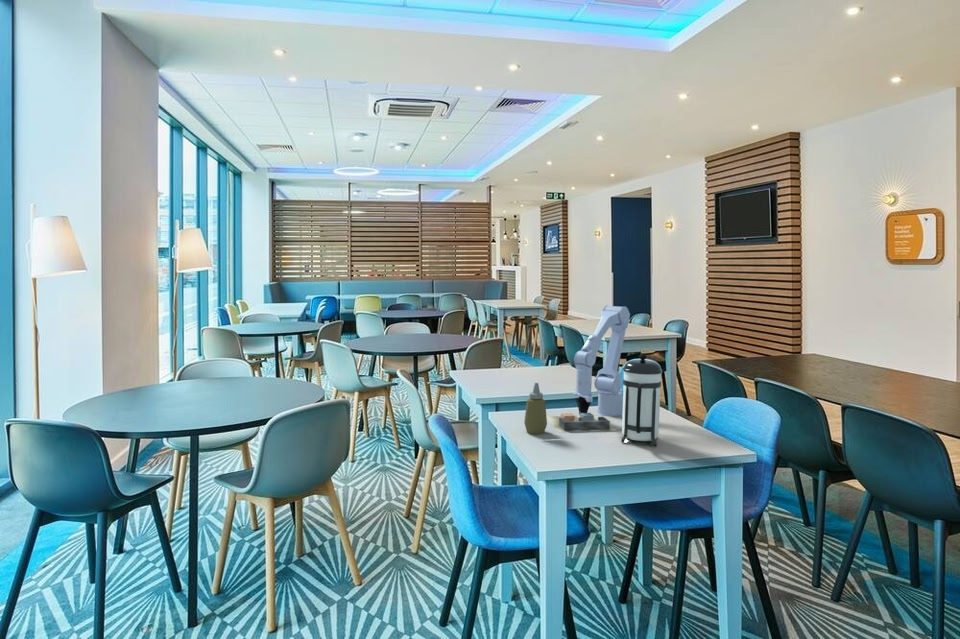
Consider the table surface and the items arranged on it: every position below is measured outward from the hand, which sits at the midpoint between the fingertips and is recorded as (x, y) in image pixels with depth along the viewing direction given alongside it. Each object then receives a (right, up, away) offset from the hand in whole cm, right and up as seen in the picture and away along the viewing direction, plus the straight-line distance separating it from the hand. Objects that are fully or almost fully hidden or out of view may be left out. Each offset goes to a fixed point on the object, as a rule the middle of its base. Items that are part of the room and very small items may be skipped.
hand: (583, 416), depth 217 cm
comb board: (-3, -2, -6) cm, 7 cm away
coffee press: (+14, -4, -28) cm, 31 cm away
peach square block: (-7, -1, -5) cm, 9 cm away
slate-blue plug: (+1, -1, -4) cm, 4 cm away
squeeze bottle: (-20, -3, -19) cm, 28 cm away
